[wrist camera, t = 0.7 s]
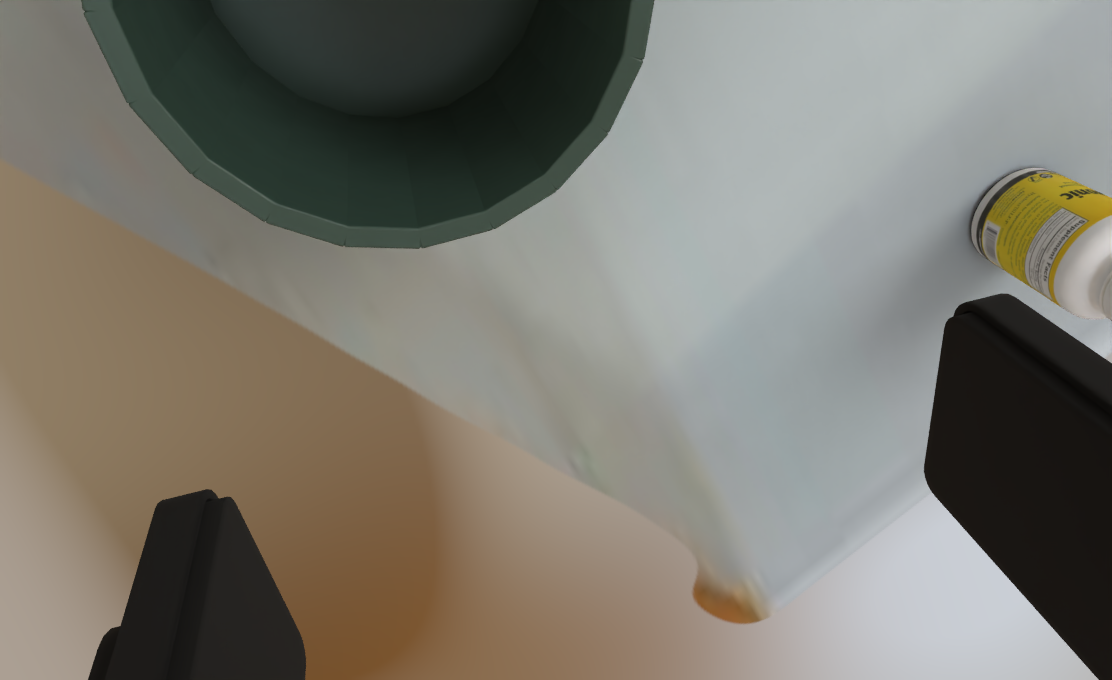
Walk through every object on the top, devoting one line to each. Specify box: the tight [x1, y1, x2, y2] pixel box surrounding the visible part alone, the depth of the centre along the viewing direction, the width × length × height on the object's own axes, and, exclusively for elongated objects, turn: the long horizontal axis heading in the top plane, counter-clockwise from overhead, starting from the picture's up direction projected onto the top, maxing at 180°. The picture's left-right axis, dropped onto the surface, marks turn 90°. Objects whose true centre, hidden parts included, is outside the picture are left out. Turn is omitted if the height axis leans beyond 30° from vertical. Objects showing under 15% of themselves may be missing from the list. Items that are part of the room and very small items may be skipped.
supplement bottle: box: [971, 168, 1112, 321], centre depth 40 cm, size 5×5×10 cm
